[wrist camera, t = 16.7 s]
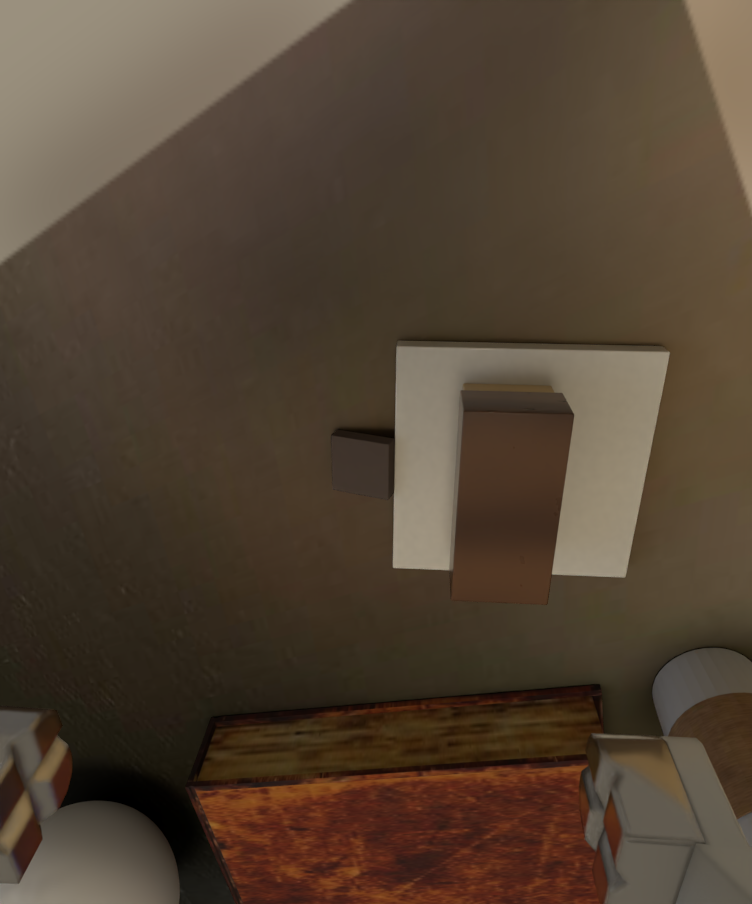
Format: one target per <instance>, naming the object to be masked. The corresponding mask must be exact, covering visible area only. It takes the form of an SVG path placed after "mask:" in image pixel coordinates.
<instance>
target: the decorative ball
mask: <svg viewBox="0 0 752 904" xmlns="http://www.w3.org/2000/svg"><path fill="white" fill-rule="evenodd" d="M41 830H42V836H43V840H42V841H41V843H40V845H39V847H38V849H37V851H36V853H35V855H34V856H33V858H32V860H31V862H30V864H29V866H28V868H27V870H26V871H25V873H24V875H23V877H22V879H21V881H20V883H19V884H6V883H0V904H179V897H180V885H179V874H178V868H177V864H176V860H175V857H174V854H173V851H172V849H171V847H170V845H169V843H168V841H167V839H166V837H165V836H164V834H163V833H162V832H161V830H160V829H159V828H158V827H157V825H156V824H155V823H154V822H153V821H152V820H150V819H149V818H148V817H147V816H145V815H144V814H143V813H141V812H139V811H138V810H136V809H134V808H132V807H129V806H127V805H124V804H120V803H116V802H111V801H86V802H80V803H75V804H71V805H68V806H65V807H62V808H60V809H58V811H56V812H55V813H54V814H52V815H51V816H50V817H49V818H47V819H46V820H45V821H43V822H42V823H41Z"/></svg>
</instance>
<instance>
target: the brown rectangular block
mask: <svg viewBox="0 0 752 904" xmlns="http://www.w3.org/2000/svg"><path fill="white" fill-rule="evenodd" d="M573 422H574V413H573V411H572V409H571V407H570V405H569V404H568V402H567V400H566V398H565V396H564V395H563V393H555V392H554V390H553V388H552V386H547V385H508V384H469V383H464V384H463V387H462V390H461V391H460V401H459V417H458V434H457V450H456V466H455V482H454V498H453V515H452V531H451V547H450V563H449V575H450V592H451V600H452V601H474V602H497V603H519V604H541V605H547V604H548V597H549V590H550V583H551V576H552V569H553V562H554V555H555V548H556V541H557V534H558V527H559V520H560V513H561V506H562V499H563V492H564V485H565V478H566V471H567V464H568V457H569V450H570V443H571V436H572V429H573Z"/></svg>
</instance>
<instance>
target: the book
mask: <svg viewBox="0 0 752 904" xmlns="http://www.w3.org/2000/svg"><path fill="white" fill-rule="evenodd" d="M591 733H600V734H604V729H603V710H602V692H601V687H600V685H588V686H577V687H565V688H553V689H541V690H529V691H517V692H505V693H493V694H482V695H470V696H458V697H446V698H434V699H422V700H410V701H398V702H387V703H375V704H363V705H351V706H339V707H327V708H315V709H303V710H291V711H280V712H268V713H256V714H244V715H232V716H220V717H218V718H214V717H211V720H210V722H209V725H208V728H207V730H206V733H205V736H204V739H203V741H202V744H201V747H200V749H199V752H198V755H197V757H196V760H195V763H194V765H193V768H192V771H191V774H190V776H189V779H188V782H187V784H186V787H185V788H186V790H187V792H188V795H189V797H190V799H191V802H192V804H193V806H194V809H195V811H196V813H197V815H198V818H199V820H200V822H201V825H202V827H203V829H204V832H205V834H206V836H207V839H208V841H209V843H210V845H211V848H212V850H213V852H214V855H215V857H216V859H217V862H218V864H219V866H220V869H221V871H222V873H223V875H224V878H225V880H226V882H227V885H228V887H229V889H230V892H231V894H232V896H233V899H234V901H235V903H236V904H599V899H598V895H597V891H596V887H595V882H594V878H593V874H592V868H593V863H594V859H595V854H596V851H595V850H594V849H593V848H592V847H591V846H590V845H589V844H588V843H587V841H586V840H585V838H584V834H583V829H582V824H581V818H580V811H579V782H580V776H581V771H582V770H583V769H584V768H586V767H587V766H588V765H589V763H588V759H587V755H586V751H585V749H586V745H587V740H588V738H589V736H590V735H591Z"/></svg>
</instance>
